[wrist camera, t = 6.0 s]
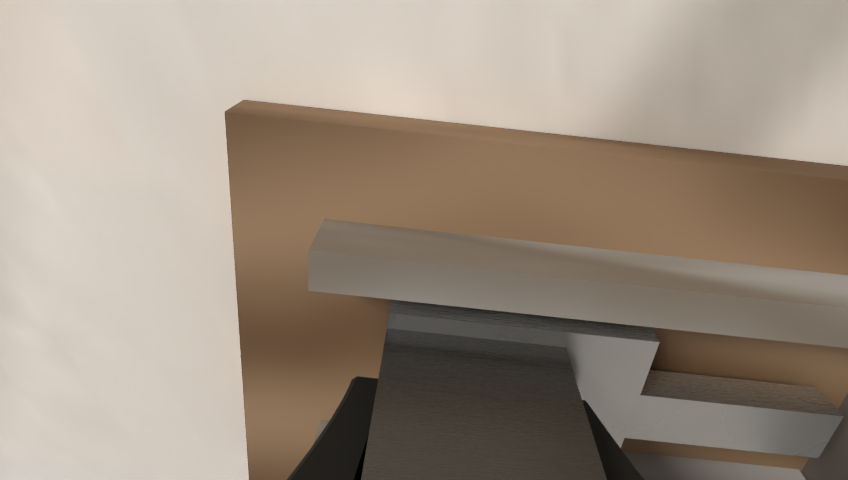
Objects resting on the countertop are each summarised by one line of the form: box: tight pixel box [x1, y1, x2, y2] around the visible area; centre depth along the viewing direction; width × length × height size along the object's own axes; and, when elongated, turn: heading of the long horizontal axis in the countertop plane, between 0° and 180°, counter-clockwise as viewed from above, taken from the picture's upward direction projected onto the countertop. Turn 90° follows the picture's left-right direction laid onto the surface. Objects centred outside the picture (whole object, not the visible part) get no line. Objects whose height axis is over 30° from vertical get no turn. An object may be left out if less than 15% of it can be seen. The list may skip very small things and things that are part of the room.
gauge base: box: [225, 100, 848, 480], centre depth 13 cm, size 12×19×6 cm, turn 84°
